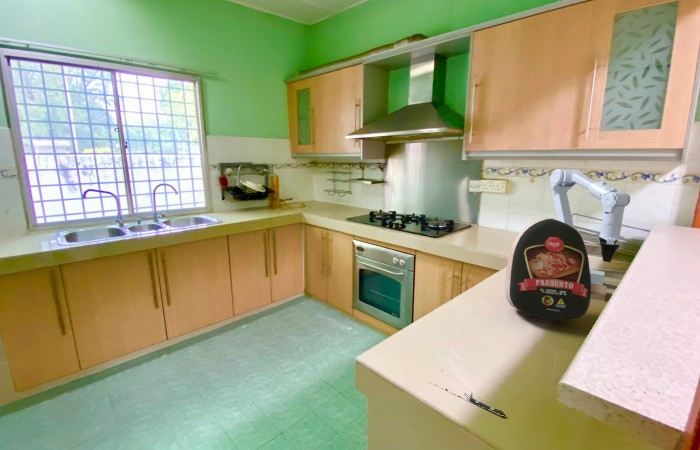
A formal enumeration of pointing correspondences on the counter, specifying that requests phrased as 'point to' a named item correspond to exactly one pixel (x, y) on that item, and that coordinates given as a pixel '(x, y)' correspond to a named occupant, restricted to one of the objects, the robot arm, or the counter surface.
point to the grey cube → (597, 277)
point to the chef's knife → (483, 404)
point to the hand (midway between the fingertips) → (605, 259)
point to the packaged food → (549, 272)
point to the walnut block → (598, 292)
